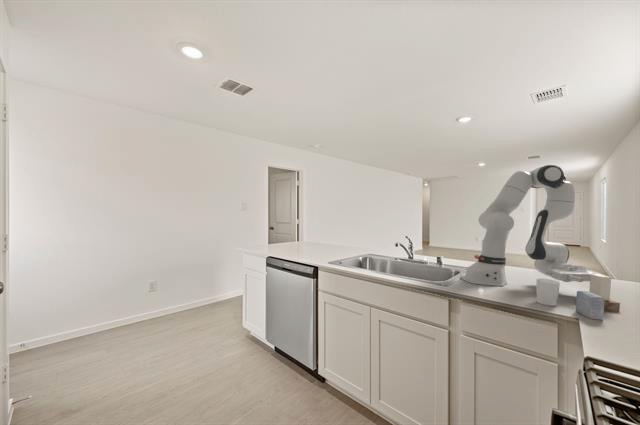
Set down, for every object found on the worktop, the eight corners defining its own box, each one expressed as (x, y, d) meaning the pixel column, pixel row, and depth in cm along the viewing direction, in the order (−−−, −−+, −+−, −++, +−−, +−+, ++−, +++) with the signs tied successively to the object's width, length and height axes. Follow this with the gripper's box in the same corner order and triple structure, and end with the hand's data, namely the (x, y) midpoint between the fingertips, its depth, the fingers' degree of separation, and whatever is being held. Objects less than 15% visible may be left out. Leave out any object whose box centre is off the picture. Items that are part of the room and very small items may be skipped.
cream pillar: (599, 300, 115) (601, 276, 114) (589, 296, 119) (590, 274, 119) (609, 300, 115) (611, 277, 114) (598, 296, 119) (600, 274, 119)
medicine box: (603, 320, 103) (605, 298, 103) (589, 319, 104) (591, 296, 104) (587, 312, 111) (589, 291, 111) (575, 310, 112) (576, 290, 112)
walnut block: (596, 311, 113) (597, 302, 113) (577, 303, 122) (577, 294, 122) (619, 312, 113) (620, 302, 112) (597, 303, 122) (598, 295, 121)
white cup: (533, 302, 120) (534, 280, 120) (537, 298, 125) (538, 277, 125) (556, 308, 114) (557, 284, 114) (560, 304, 119) (561, 281, 119)
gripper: (543, 265, 134) (568, 272, 120) (586, 266, 133) (616, 274, 119) (542, 277, 134) (567, 286, 120) (585, 279, 133) (615, 288, 119)
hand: (591, 280), depth 120 cm, fingers open, 8 cm apart
